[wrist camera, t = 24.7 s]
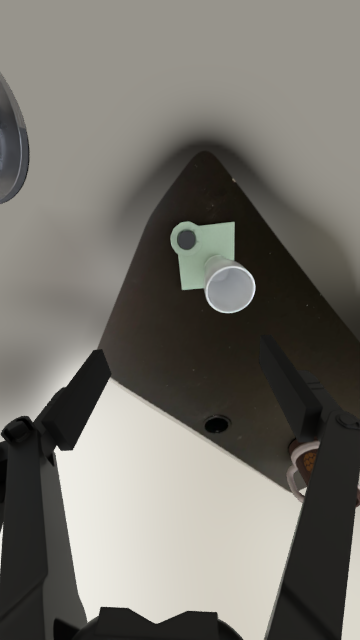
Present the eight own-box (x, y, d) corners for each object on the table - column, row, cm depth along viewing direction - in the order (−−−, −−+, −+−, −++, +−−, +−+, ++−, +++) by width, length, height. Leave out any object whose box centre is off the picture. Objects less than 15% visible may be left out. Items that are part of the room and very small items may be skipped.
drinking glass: (239, 257, 38) (266, 275, 25) (224, 288, 41) (241, 320, 28) (207, 245, 37) (217, 257, 24) (195, 278, 40) (197, 305, 27)
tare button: (177, 231, 36) (177, 232, 34) (194, 229, 35) (194, 230, 34) (179, 248, 37) (179, 249, 35) (195, 247, 37) (195, 248, 35)
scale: (170, 224, 37) (168, 224, 35) (233, 216, 36) (236, 215, 34) (177, 288, 43) (177, 292, 40) (232, 283, 42) (235, 287, 39)
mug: (316, 425, 61) (352, 482, 47) (344, 445, 64) (384, 504, 51) (266, 452, 68) (284, 508, 55) (293, 469, 72) (317, 525, 58)
